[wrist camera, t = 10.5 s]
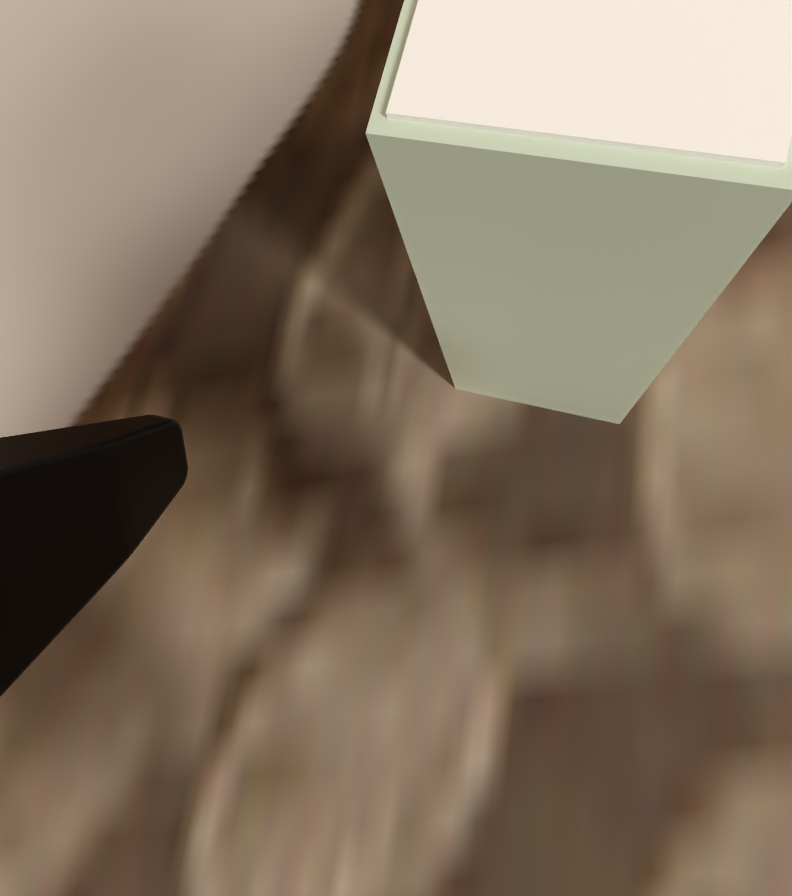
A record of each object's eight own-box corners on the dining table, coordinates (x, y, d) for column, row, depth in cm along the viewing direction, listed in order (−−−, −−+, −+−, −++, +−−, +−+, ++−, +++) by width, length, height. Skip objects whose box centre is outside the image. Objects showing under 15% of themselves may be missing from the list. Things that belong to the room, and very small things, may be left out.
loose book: (675, 178, 18) (926, -418, 7) (619, 424, 17) (805, 185, 6) (515, 157, 19) (516, -395, 8) (455, 388, 18) (363, 127, 7)
